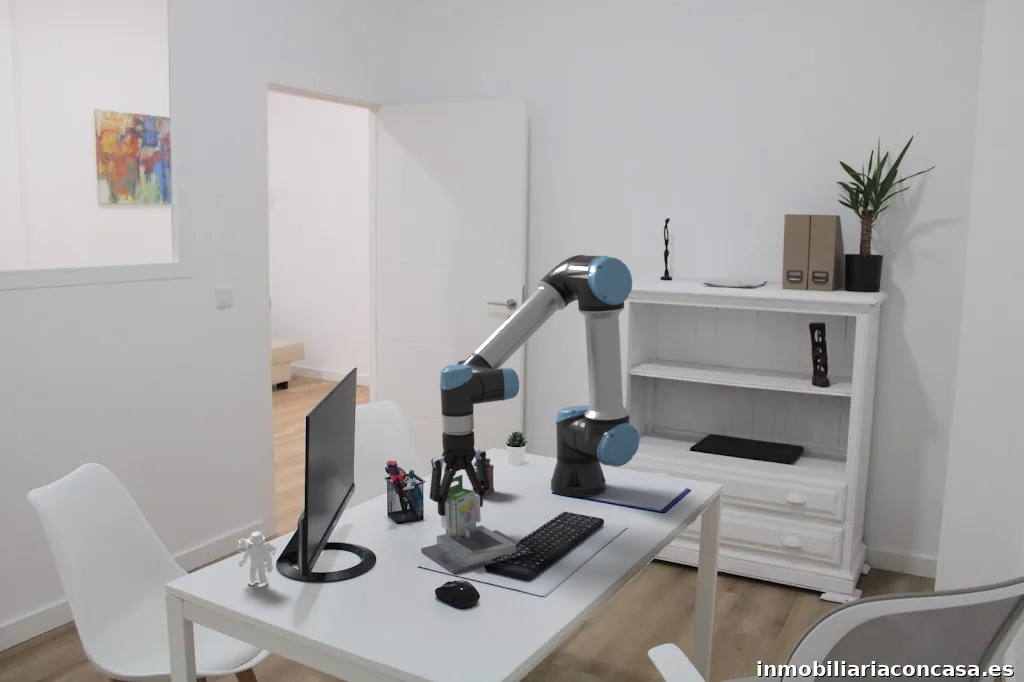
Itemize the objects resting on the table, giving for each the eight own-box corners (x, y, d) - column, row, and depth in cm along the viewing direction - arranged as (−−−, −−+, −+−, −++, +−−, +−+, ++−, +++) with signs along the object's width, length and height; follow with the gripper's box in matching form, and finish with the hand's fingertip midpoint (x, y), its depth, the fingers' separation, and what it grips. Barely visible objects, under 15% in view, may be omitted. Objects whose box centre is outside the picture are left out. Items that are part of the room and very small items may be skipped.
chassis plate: (496, 534, 211) (496, 522, 211) (531, 553, 199) (531, 540, 198) (421, 552, 201) (420, 539, 200) (453, 574, 188) (452, 560, 188)
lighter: (487, 489, 246) (486, 454, 244) (497, 491, 244) (496, 456, 242) (469, 497, 239) (468, 461, 238) (479, 499, 237) (478, 463, 236)
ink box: (458, 539, 208) (456, 484, 206) (445, 535, 210) (443, 481, 208) (476, 530, 213) (475, 476, 212) (464, 527, 216) (462, 473, 214)
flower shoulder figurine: (281, 583, 185) (278, 527, 183) (270, 590, 182) (267, 534, 180) (246, 577, 188) (242, 523, 187) (234, 584, 185) (230, 529, 183)
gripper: (487, 421, 217) (489, 511, 220) (411, 434, 206) (415, 528, 209) (503, 427, 211) (506, 519, 214) (426, 441, 200) (430, 538, 203)
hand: (461, 524), depth 212 cm, fingers closed on ink box, 8 cm apart
